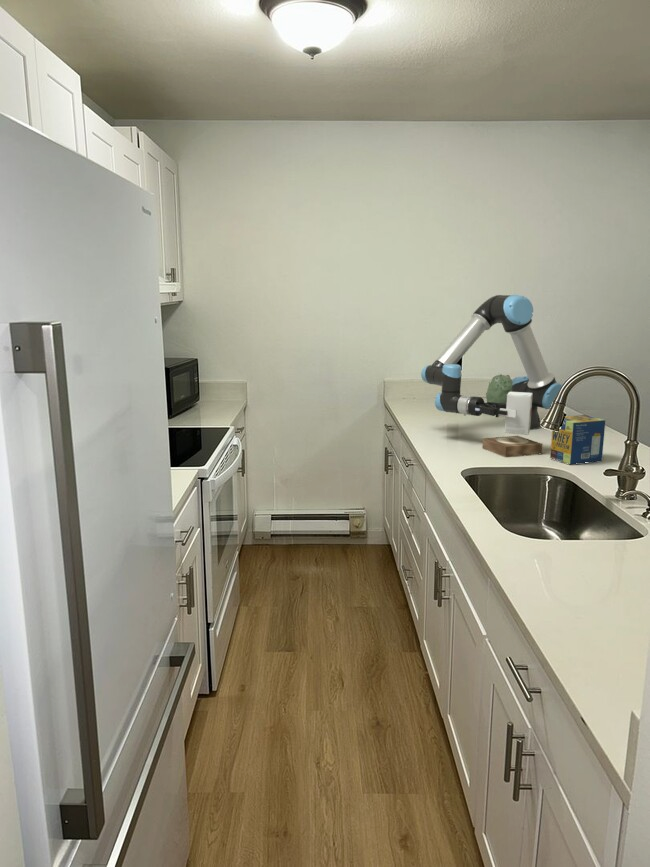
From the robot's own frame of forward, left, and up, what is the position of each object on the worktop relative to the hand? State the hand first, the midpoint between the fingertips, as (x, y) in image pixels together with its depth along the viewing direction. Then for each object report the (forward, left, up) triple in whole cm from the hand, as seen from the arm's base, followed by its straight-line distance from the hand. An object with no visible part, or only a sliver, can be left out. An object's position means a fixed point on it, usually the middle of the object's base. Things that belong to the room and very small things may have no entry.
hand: (523, 412), depth 258 cm
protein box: (-12, +17, -16) cm, 26 cm away
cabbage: (-42, -79, -16) cm, 91 cm away
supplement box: (+1, -2, -8) cm, 8 cm away
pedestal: (+2, -3, -16) cm, 16 cm away
